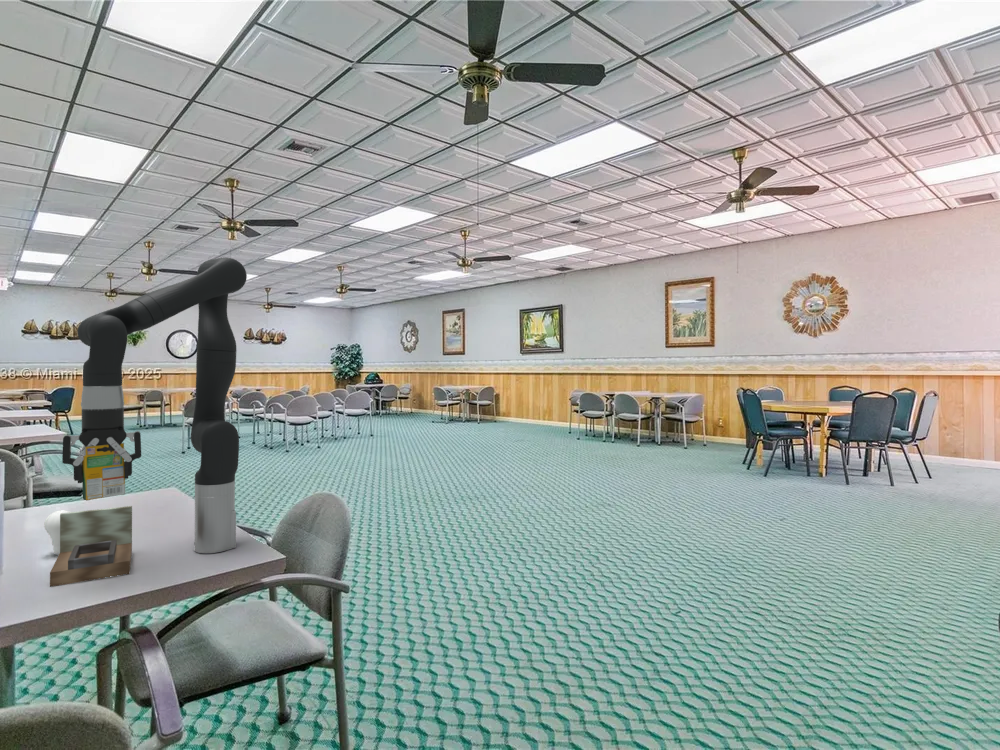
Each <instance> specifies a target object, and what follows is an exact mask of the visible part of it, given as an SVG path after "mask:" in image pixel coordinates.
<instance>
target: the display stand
mask: <svg viewBox="0 0 1000 750" xmlns="http://www.w3.org/2000/svg"><path fill="white" fill-rule="evenodd" d="M132 554H133V505H129V506H128V505H127V506H118V507H108V508H100V509H98V508H97V509H90V510H88V509H87V510H81V511H80V510H79V511H69V513H61V514H60V554H59V555H57V558H56V559H55V562H54V564H53V566H52V567H51V570H50V572H49V588H50V587H51V586H52V587H58V586H62V585H70V584H76V583H83V582H87V581H88V582H89V581H93V580H94V579H95V580H100V579H99V578H101V579H106V578H105V577H108V578H111V577H110V576H114V577H118V576H117V575H120V576H124V575H123V574H126V575H130V573H131V565H132V558H131V557H132V556H133V555H132ZM52 587H51V588H52Z"/></svg>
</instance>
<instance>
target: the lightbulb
mask: <svg viewBox="0 0 1000 750" xmlns="http://www.w3.org/2000/svg"><path fill="white" fill-rule="evenodd" d="M69 512H70V511H69V510H63V509H61V510H56V511H53V512H51V513H50V514H49V515H48V516H47V517H46V519H45V521H44V524H43V525H44V526H43V527H44V530H45V531H46V533H47V534H48V535H49V538H50V539H51V544H52V547H53V548H52V549H53V553H54V555H57V556H59V554H60V514H61V513H69Z"/></svg>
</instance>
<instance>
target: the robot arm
mask: <svg viewBox="0 0 1000 750" xmlns="http://www.w3.org/2000/svg"><path fill="white" fill-rule="evenodd" d="M247 278H248V276H247V270H246V268H245V267H244V265H243V264H242V263H241V262H240V261H239V260H237V259H234V258H232V257H218V258H212V259H208V260H205V261H204V262H203V263H201V264H200V266H198V269H197V272H196V275H195V276H192V277H190V278H187V279H186V280H182V281H180V282H177V283H174V284H170V285H167V286H164V287H161V288H158V289H156V290H153V291H150V292H148V293H145V294H143V295H141V296H138V297H136V298H134V299H132V300H130V301H128V302H125V303H123V304H122V305H120V306H119V305H118V306H116V307H114V308H110V309H108V310H104V311H101V312H99V313H95V314H94V315H91V316H89V317H87V318H85V319H84V320H83V321H81V322H80V324H79V325H78V328H77V333H76V334H77V336H78V337H77V338H78V339H79V340H80V342H81V343H82V344H84V345H86V346H88V347H89V353H88V354H89V355H88V359H87V360H86V361H84V362H83V365H82V366H83V367H82V392H81V402H80V407H81V433H80V434H77V435H76V434H75V435H70V434H66V435H64V436H63V437H62V457H61V458H62V460H61V461H62V464H64V465H71V466H72V467H73V480H74V482H76V481H77V484H82V461H83V460H84V456H85V455H86V453H85V447H89V446H99V445H109V447H103V448H99V449H97V451H103V452H106V451H110V452H112V451H115V450H116V451H117V452H118V453H119V454H120V455H121V456H122V457H123V458H124V471H125V480H126V479H127V480H128V479H129V477H130V476H132V475H133V461H135V460H137V459H140V458H141V457H142V441H141V439H142V438H141V435H142V434H141V432H140V431H139V430H136V431H132V432H131V431H130V432H126V431H125V420H124V419H125V417H124V416H125V414H124V413H125V407H124V406H125V401H124V398H125V397H124V390H123V368H122V367H123V362H124V359H125V355H126V349H127V345H128V335H130V334H133V333H136V332H140V331H144V330H147V329H150V328H151V327H152V328H153V327H154V326H156V325H158V324H160V323H162V322H164V321H166V320H168V319H170V318H172V317H174V316H176V315H178V314H180V313H182V312H184V311H186V310H188V309H190V308H192V307H195V306H196V305H198V320H197V343H196V344H197V345H196V362H195V363H196V364H195V365H196V368H195V372H196V375H195V404H194V412H193V418H192V423H191V430H190V442H191V445H192V447H193V448H194V450H196V452H198V453H200V456H201V457H200V465H199V466H200V467H199V468H198V470H197V471H195V474H194V541H193V543H194V552H196V553H199V554H214V553H221V552H225V551H229V550H231V549H236V548H237V544H236V543H237V511H236V508H235V507H236V506H235V505H236V502H235V501H236V498H235V497H236V495H235V494H236V493H235V492H236V473H237V471H238V467H239V456H240V455H239V453H240V436H239V432H238V429H237V428H236V426H235V425H234V424H233V423H231V422H228V421H226V420H225V417H226V416H225V413H226V412H225V411H226V410H225V409H226V408H225V407H226V398H227V394H228V392H229V389H230V386H231V384H232V382H233V379H234V376H235V373H236V368H237V343H236V338H235V335H234V332H233V329H232V327H231V325H230V321H229V318H228V298H229V294H234V293H236V292H238V291H240V290H241V289H242V288H243V287H244V286H245V285H246V282H247ZM126 438H128V439H129V441H130V442H132V443H133V444H134V453H132V454H130V453H129V452H128V450H127V449H126V448H125V447H124V449H123V448H122V447H121V446H120V445H121V443H124V441H125V440H126ZM77 441H79V442H80V443H81V444H82V445H83V446H84V449H83V450H82V451H81V452H80V454H79V455H78V456H77V457H76V458H74V457H72V446H74V445H75V444H76V442H77Z"/></svg>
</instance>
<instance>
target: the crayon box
mask: <svg viewBox="0 0 1000 750" xmlns="http://www.w3.org/2000/svg"><path fill="white" fill-rule="evenodd" d="M120 446H121V447H122V448H123V449H124V448H125V443H124V442H122V443H121V445H120ZM103 447H109V445H99V446H89V447H85V446H84V449H85V453H86V455H85V456H84V460H83V461H82V462H81V465H82V483H81V485H82V500H84V501H91V500H92V501H93V500H97V499H104V498H109V497H110V498H111V497H115V496H124V495H126V479H125V471H124V462H125V459H124V458H123V457H122V456H121V455H120V454H119V453H118V452H117V451H116V450H115V451H112V452H110V451H106V452H103V451H97V449H99V448H103Z"/></svg>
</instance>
